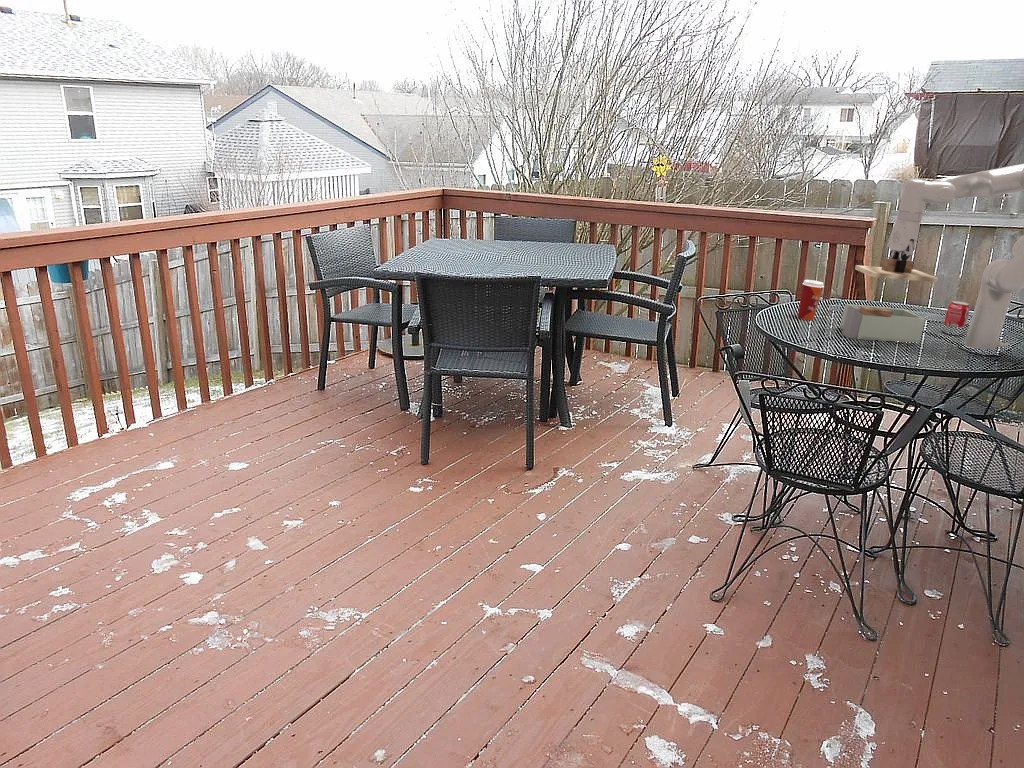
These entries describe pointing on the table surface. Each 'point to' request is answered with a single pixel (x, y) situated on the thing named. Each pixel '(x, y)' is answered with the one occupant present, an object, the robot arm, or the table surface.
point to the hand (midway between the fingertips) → (896, 270)
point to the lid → (889, 272)
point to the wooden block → (876, 311)
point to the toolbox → (881, 325)
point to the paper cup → (810, 299)
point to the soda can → (957, 314)
